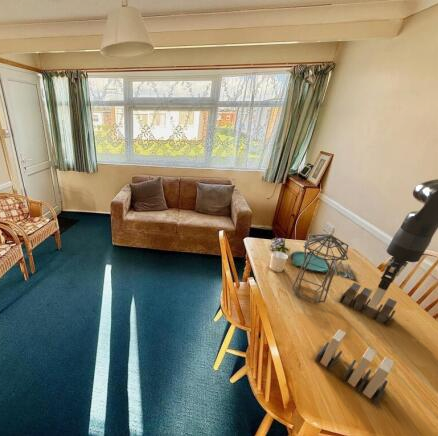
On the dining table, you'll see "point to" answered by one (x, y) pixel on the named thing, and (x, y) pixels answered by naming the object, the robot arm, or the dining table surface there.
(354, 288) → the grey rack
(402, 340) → the dining table surface
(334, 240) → the geometric lantern
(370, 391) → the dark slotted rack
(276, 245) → the purple flower bunch
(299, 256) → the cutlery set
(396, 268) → the robot arm
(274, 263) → the white cup
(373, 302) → the white book
